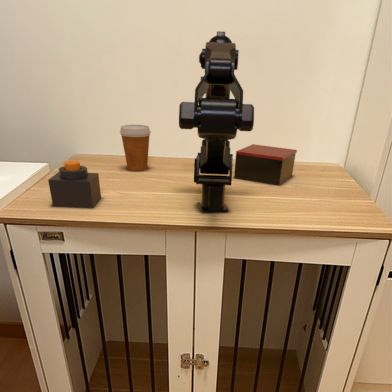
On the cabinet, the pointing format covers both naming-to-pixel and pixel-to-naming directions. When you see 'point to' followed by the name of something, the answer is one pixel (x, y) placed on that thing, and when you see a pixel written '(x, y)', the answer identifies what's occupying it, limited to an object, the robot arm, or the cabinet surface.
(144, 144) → the disposable coffee cup
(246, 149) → the red rectangular panel
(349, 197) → the cabinet surface
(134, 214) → the cabinet surface
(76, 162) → the button
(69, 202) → the control box
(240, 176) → the dark brown box
